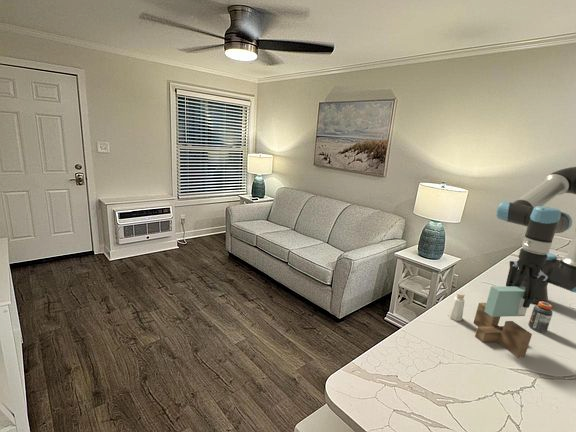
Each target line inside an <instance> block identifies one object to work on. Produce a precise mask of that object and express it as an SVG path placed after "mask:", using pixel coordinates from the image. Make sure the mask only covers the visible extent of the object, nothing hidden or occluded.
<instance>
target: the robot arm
mask: <svg viewBox="0 0 576 432" xmlns="http://www.w3.org/2000/svg"><path fill="white" fill-rule="evenodd" d="M564 194H573V195H576V166H572V167H571V166H570V167H566V168H562V169H558V170H556V171H553V172H552V173H550V174H548V175H546V176H545V177H544V178H543V179H542V180H541V183H540V184H537V185H536V186H534V188H532V189H531V190H529V191H528V192H526V193H525V194H523V195H521V197H519V198H518V199H516V200H515V201H513V202H510V201H502V202H500V203H499V204H498V206H497V207H496V208H497V209H496V210H495V211H496V212H495V213H496V214H495V216H496V217H497V219H498V220H501V221H503V222H506V223H512V224H516V225H520V226H525V227H526V231H525V235H524V237H523V241H522V245H521V247H522V248H521V249H520V251H519V254H518V260H510V261H509V270H508V274H507V278H506V282H505V286H511V287H525V296H524V297H522V298H521V301H520V304H519V308H518V311H517V314H518V315H525V316H526V313H525V312H527V310H528V308H530V306H531V304H537V305H538V303H539V302H540V301H542V302H546V303H548V300H549V295H548V293H549V292H548V285H549V284H550V285H553V286H556V287H557V288H558V287H559V288H562V289H564V290H567V291H570V292H571V293H575V294H576V227H575V228H574V231H573V234H572V237H571V241H570V244H569V248H568V250H567V253H566V255H565V256H562V257H561V258H560V259H558V255H556V254H553V253H550V250H551V246H552V243H553V240H554V237H555V234H561V233H565V232H566V231H567V230H568V231H569V230H570V228H571V227H572V226H573V219H572V217H571V216H570V214H568V213H566V212H564V211H561V210H560V209H558V208H554V207H550V206H545V205H547V204H548V203H549V202H550V201H551V200H553V199H554V198H555V197H557V196H560V195H561V196H562V195H564ZM526 309H527V310H526Z"/></svg>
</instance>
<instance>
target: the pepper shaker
mask: <svg viewBox="0 0 576 432" xmlns="http://www.w3.org/2000/svg"><path fill="white" fill-rule="evenodd" d="M464 298H465V293H463V292H461V291H457V292H456V295H455V297H454V298H453V301H452V303H451V305H450V308H449V310H448V313H447V317H448V318H449V319H450V320H453V321H455V322H461V321H462V320H463V314H464V308H465V307H464V306H465V299H464Z"/></svg>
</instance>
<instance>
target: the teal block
mask: <svg viewBox="0 0 576 432" xmlns="http://www.w3.org/2000/svg"><path fill="white" fill-rule="evenodd" d="M488 293H489V294H488V297H487V301H486V302H485V303H486V307H485V310H484V312H486V313H487V314H489V315H490V316H492V317H500V318H501V317H525V316H526V312H527V310H528V308H527V309H526V312H525V315H518V314H517V311H518V308H519V304H520V301H521V298H522V297H524V296H525V287H511V286H506V285H505V286H504V285H503V286H499V285H497V286H496V285H495V286H490V290H489V292H488Z"/></svg>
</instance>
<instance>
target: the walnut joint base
mask: <svg viewBox="0 0 576 432" xmlns="http://www.w3.org/2000/svg"><path fill="white" fill-rule="evenodd" d="M486 303H487V302H478V305H477V309H476V313H475V316H474V320H473V324H475V326H476V327H477V328H476V332H475V335H474V337H475V338H476V339H478V340H479V341H480V342H481V343H496V342H497V343H498V344H500V345H501V346H502V347H503V348H504V349H506V350H508V352H509V353H511V354H512V355H514V356H515V357H516V358H525V356H526V354H527V352H528V348H529V344H530V341H531V339H532V336H533V334H532V333H531V332H530V331H528V330H527V329H526V328H524V327H522V326H521V325H519V324H518V323H516V322H514V321H513V320H506V321H505V322H504V325H503V326H501V325H499V322H500V319H501V317H492V316H490V315H489V314H487V313H486V312H484V310H485V307H486Z"/></svg>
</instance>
